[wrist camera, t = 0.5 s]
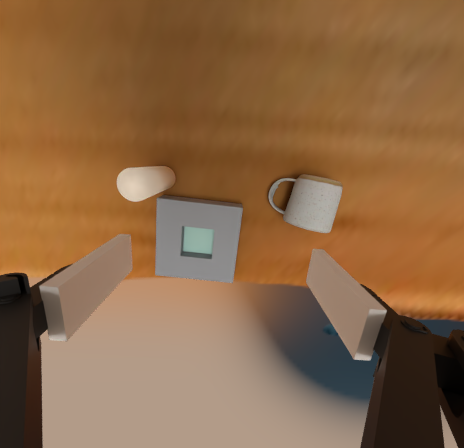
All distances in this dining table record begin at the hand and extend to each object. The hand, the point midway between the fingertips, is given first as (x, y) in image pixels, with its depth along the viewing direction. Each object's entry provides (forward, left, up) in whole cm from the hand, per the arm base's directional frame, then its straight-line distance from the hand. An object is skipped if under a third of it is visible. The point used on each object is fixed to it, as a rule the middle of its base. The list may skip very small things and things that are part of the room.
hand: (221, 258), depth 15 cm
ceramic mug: (-2, +12, -24) cm, 27 cm away
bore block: (+7, -4, -24) cm, 25 cm away
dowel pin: (-3, -11, -24) cm, 26 cm away
